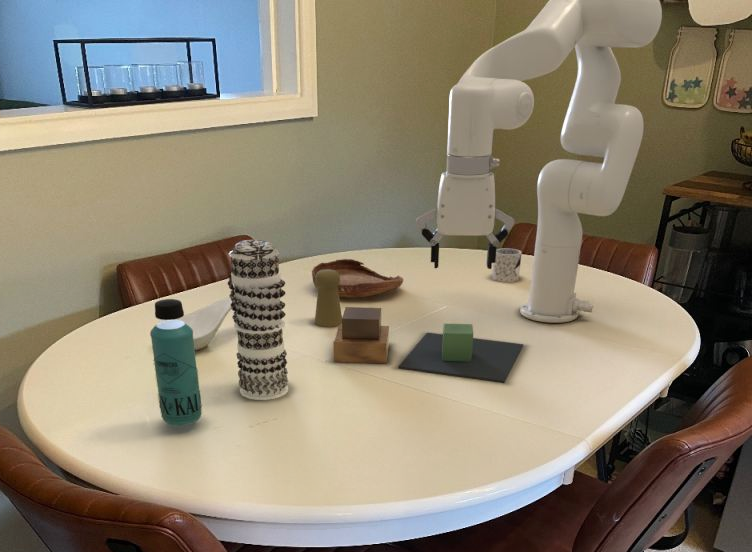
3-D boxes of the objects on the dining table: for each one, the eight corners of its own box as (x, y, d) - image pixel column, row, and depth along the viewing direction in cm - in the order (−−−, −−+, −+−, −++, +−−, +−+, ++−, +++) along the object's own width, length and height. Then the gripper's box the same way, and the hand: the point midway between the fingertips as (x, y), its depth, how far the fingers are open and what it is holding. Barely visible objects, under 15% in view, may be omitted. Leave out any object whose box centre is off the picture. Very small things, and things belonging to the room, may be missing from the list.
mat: (523, 346, 155) (523, 344, 154) (504, 382, 139) (504, 380, 138) (426, 334, 160) (427, 332, 160) (398, 368, 144) (398, 366, 144)
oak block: (388, 345, 154) (389, 325, 152) (386, 363, 146) (386, 343, 144) (339, 343, 155) (338, 324, 153) (333, 361, 147) (333, 341, 144)
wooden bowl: (418, 288, 188) (419, 267, 185) (375, 309, 174) (375, 287, 171) (342, 274, 198) (342, 254, 195) (295, 293, 184) (294, 272, 181)
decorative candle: (268, 405, 130) (258, 253, 116) (226, 393, 134) (212, 245, 120) (300, 387, 136) (294, 241, 123) (259, 376, 140) (249, 234, 127)
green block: (470, 351, 151) (472, 324, 148) (471, 361, 146) (473, 333, 143) (441, 350, 151) (443, 323, 148) (442, 360, 146) (443, 332, 143)
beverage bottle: (165, 417, 125) (147, 295, 115) (206, 415, 126) (192, 294, 115) (159, 435, 120) (140, 308, 109) (202, 433, 120) (187, 307, 110)
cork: (338, 327, 163) (338, 275, 157) (311, 325, 164) (309, 273, 158) (345, 318, 168) (344, 267, 162) (318, 316, 169) (317, 265, 163)
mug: (520, 282, 193) (523, 255, 189) (494, 282, 193) (496, 254, 189) (514, 271, 201) (517, 245, 198) (489, 271, 202) (491, 245, 198)
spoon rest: (180, 361, 146) (175, 324, 142) (147, 345, 153) (142, 310, 149) (277, 332, 160) (275, 298, 156) (243, 319, 167) (240, 286, 163)
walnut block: (381, 328, 151) (381, 307, 149) (379, 340, 145) (379, 319, 143) (345, 326, 152) (345, 306, 149) (342, 339, 146) (341, 318, 144)
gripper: (517, 162, 134) (508, 261, 144) (418, 161, 135) (415, 260, 145) (521, 169, 128) (511, 273, 137) (417, 169, 129) (414, 272, 138)
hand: (462, 266), depth 141 cm, fingers open, 9 cm apart
